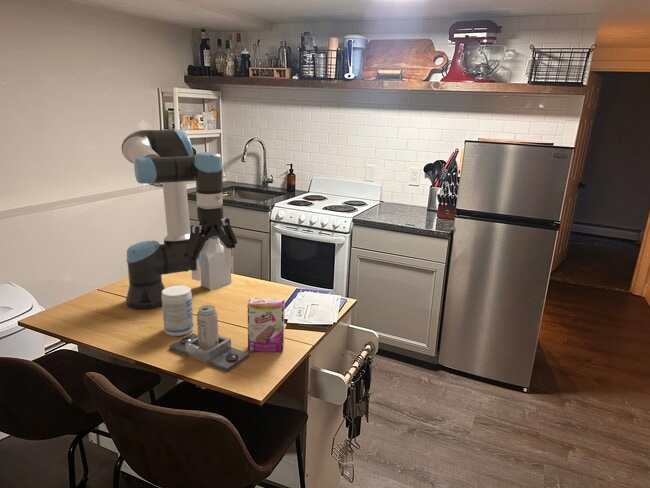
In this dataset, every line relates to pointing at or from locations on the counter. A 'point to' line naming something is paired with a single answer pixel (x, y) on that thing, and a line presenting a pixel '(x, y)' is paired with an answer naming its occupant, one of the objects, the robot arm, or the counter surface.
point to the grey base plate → (211, 352)
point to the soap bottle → (214, 266)
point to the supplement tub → (177, 310)
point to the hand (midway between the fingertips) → (212, 273)
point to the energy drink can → (207, 327)
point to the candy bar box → (266, 325)
